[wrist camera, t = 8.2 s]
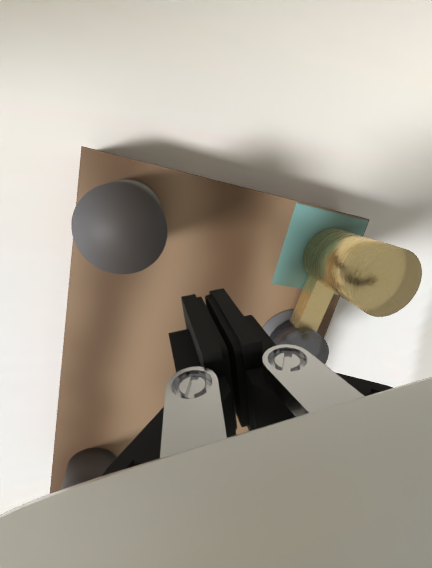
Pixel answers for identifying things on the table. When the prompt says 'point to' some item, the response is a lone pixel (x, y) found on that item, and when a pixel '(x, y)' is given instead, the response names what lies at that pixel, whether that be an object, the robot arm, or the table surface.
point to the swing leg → (348, 284)
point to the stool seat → (162, 290)
